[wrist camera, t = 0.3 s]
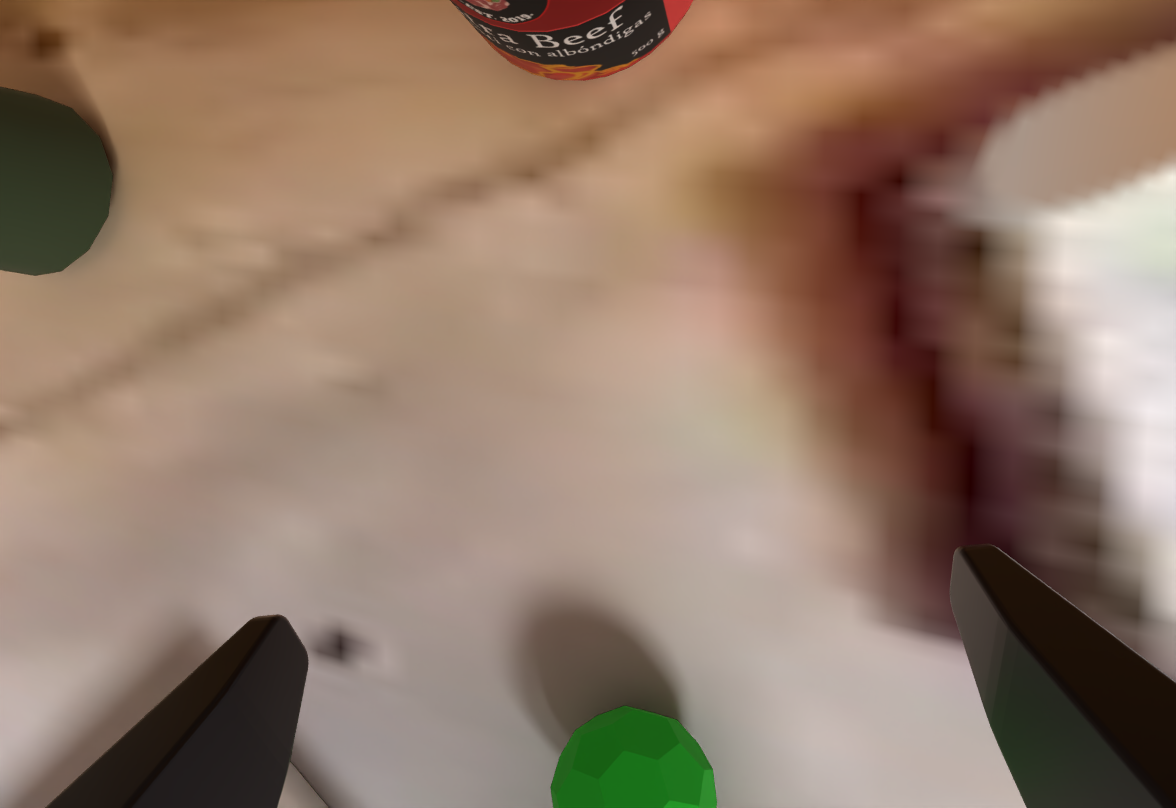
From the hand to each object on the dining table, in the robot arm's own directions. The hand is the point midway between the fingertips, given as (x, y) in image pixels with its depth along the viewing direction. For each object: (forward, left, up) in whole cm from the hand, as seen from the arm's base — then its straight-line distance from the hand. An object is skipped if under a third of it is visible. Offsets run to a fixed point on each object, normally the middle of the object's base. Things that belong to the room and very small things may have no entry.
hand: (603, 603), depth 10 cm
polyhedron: (-7, +8, -15) cm, 18 cm away
